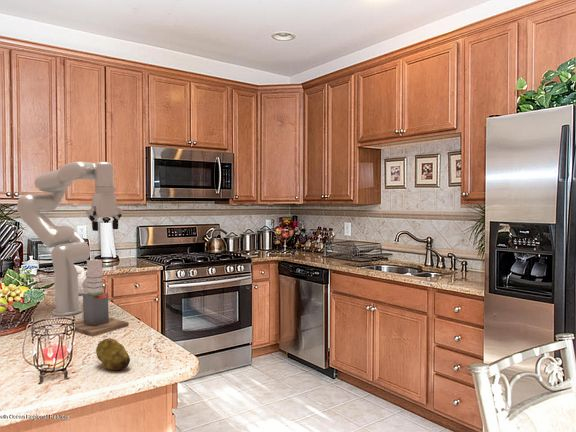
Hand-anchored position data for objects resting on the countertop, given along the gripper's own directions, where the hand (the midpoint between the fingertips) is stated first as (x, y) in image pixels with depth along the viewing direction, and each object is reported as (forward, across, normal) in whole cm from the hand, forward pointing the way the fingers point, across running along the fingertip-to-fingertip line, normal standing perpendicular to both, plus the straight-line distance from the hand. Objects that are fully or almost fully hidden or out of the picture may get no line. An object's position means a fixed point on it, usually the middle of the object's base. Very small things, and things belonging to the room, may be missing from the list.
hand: (105, 229), depth 195 cm
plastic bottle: (+38, +4, -6) cm, 39 cm away
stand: (+38, +12, +10) cm, 41 cm away
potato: (+38, +34, +53) cm, 74 cm away
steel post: (+31, +12, +10) cm, 34 cm away
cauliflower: (+39, -19, -57) cm, 71 cm away
